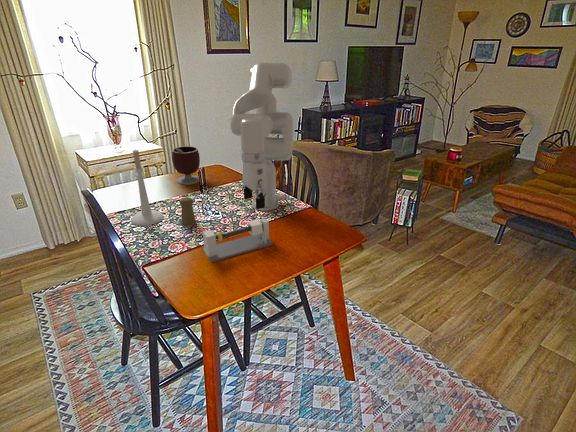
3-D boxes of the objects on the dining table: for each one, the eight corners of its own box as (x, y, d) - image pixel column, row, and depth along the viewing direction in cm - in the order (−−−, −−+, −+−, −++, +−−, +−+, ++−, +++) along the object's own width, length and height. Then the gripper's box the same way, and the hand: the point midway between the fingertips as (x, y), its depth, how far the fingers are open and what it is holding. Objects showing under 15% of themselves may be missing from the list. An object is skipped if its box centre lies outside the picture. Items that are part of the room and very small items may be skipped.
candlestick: (129, 215, 151) (115, 147, 138) (160, 210, 157) (149, 143, 144) (133, 228, 141) (119, 155, 128) (166, 221, 147) (155, 151, 134)
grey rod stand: (261, 234, 139) (261, 214, 135) (272, 244, 132) (272, 223, 128) (202, 250, 128) (200, 228, 124) (211, 262, 121) (209, 240, 117)
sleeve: (257, 228, 134) (257, 219, 132) (262, 233, 131) (262, 223, 129) (247, 231, 132) (247, 221, 130) (252, 235, 129) (252, 226, 127)
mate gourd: (183, 174, 198) (179, 139, 189) (206, 177, 195) (203, 141, 186) (168, 184, 185) (163, 147, 176) (192, 187, 182) (188, 149, 173)
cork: (192, 226, 143) (189, 202, 139) (178, 225, 144) (175, 200, 140) (198, 220, 149) (196, 196, 144) (185, 218, 150) (182, 195, 145)
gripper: (275, 161, 113) (275, 210, 121) (251, 149, 127) (253, 193, 134) (254, 164, 110) (255, 214, 117) (232, 151, 123) (234, 197, 130)
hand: (254, 203), depth 125 cm, fingers open, 9 cm apart
